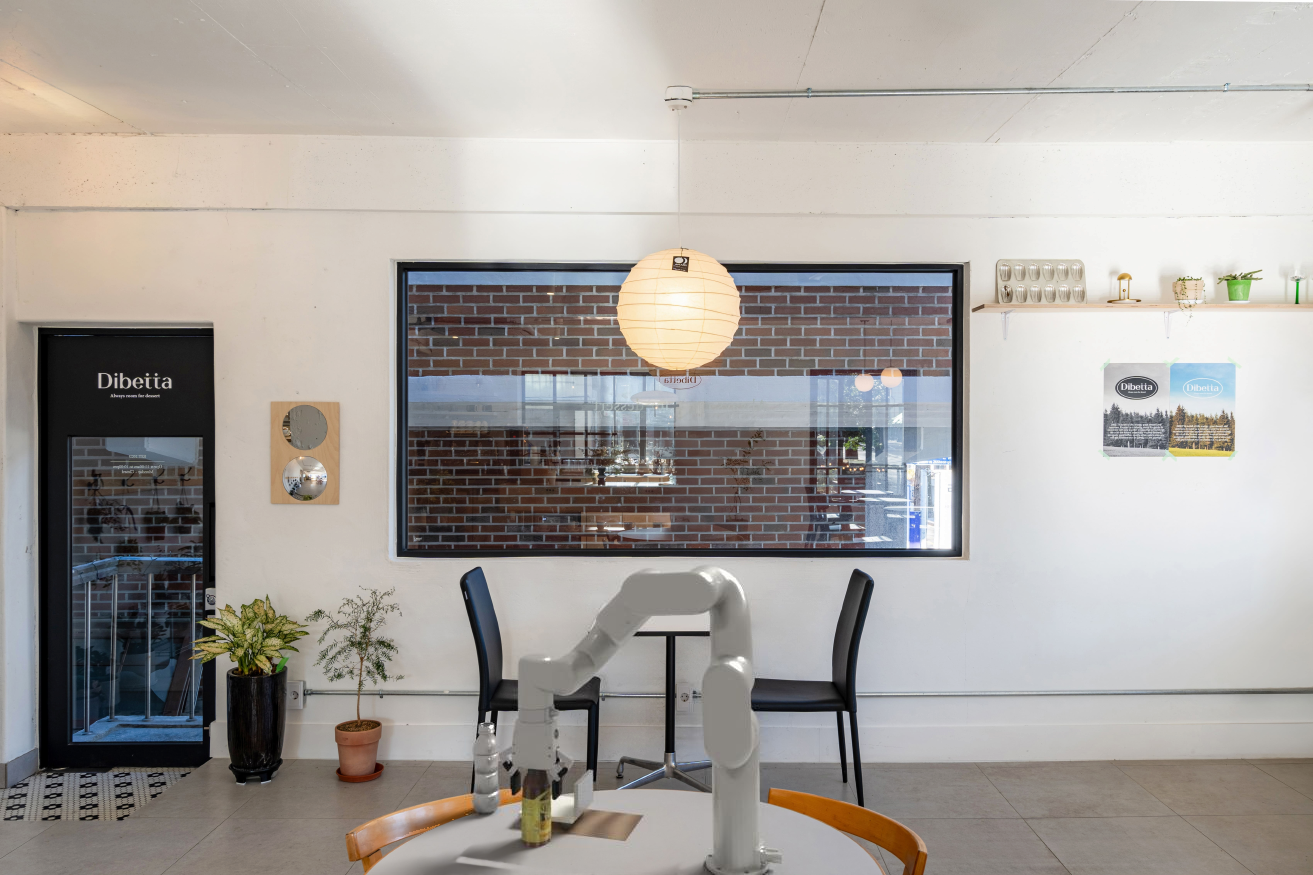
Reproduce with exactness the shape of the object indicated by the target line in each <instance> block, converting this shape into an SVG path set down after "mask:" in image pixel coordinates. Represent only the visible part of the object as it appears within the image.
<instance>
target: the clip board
mask: <svg viewBox="0 0 1313 875" xmlns="http://www.w3.org/2000/svg"><path fill="white" fill-rule="evenodd" d="M644 816H645V815H644V814H643V815H642V814H635V813H634V814H633V813H626V812H616V811H609V810H608V811H607V810H599V809H589V808H587V809H586V810H585V811H584V812H583V813H582V814H581V815H580V816H579V817H578V818H577V819H576V820H575V821H574V822H573V824H571V826H570V827H569V828H568V829H567V830H564V829H562V828H561V827H560V822H555V821H551V833H557V834H567V835H574V836H583V837H591V838H598V839H599V838H600V839H608V840H617V841H625V842H626V841H627V839H628V838H629V836H630V835H631V834H632V833H633V831H634V829H635V828H636V827H637V825H638V824H639V823H640V822H641V820H642V818H643V817H644ZM514 828H516V829H522V819H521V820H520V821H519V822H518V823H517V824H515V826H514Z"/></svg>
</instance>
